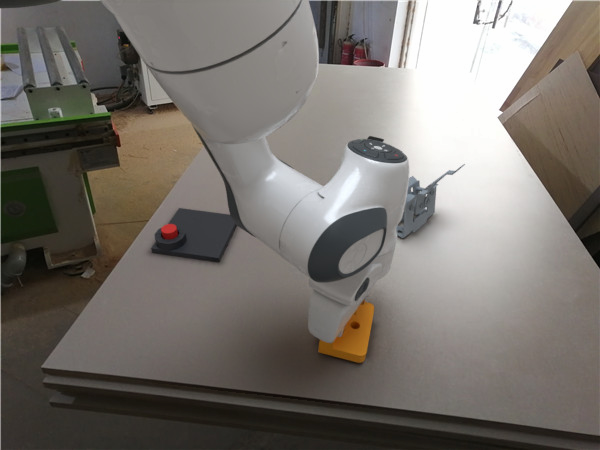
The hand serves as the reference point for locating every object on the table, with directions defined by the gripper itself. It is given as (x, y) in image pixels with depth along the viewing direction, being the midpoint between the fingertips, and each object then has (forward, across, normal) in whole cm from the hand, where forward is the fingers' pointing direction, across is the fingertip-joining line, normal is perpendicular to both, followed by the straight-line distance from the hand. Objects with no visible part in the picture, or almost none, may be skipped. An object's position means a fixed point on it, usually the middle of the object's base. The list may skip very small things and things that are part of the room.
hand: (349, 316), depth 64 cm
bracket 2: (+5, -35, -2) cm, 35 cm away
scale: (+5, -4, -38) cm, 38 cm away
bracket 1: (+5, 0, 0) cm, 5 cm away
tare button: (+2, +1, -40) cm, 40 cm away
